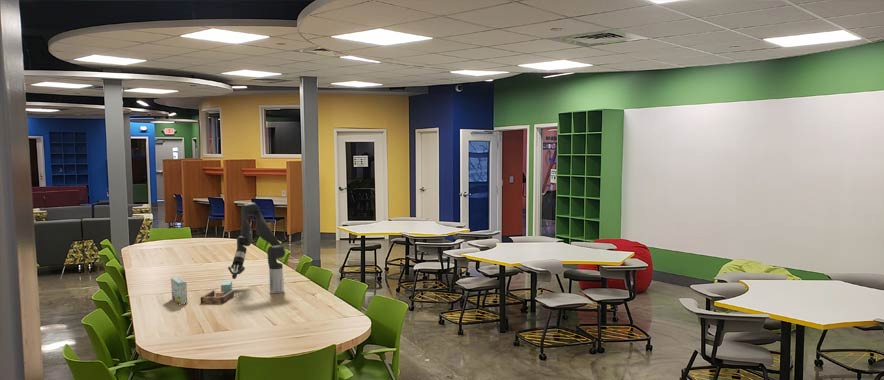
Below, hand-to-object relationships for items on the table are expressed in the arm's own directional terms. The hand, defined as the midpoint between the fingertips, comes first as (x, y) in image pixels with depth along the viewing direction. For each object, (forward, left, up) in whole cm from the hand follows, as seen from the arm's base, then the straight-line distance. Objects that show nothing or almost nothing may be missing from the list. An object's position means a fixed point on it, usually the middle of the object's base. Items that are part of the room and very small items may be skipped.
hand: (233, 278), depth 443 cm
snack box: (+24, +37, -8) cm, 45 cm away
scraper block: (0, +15, -8) cm, 17 cm away
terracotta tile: (0, +26, -8) cm, 27 cm away
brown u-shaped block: (0, +32, -8) cm, 33 cm away
